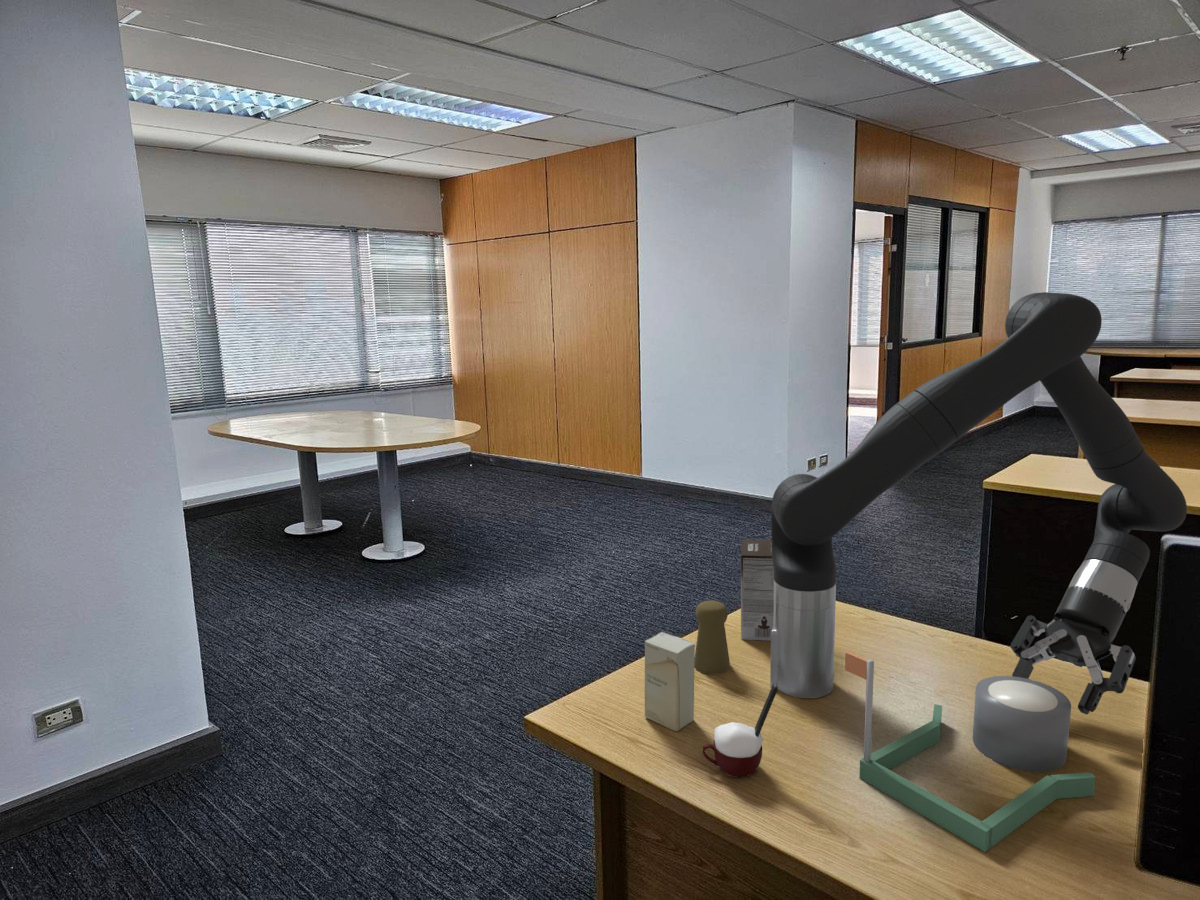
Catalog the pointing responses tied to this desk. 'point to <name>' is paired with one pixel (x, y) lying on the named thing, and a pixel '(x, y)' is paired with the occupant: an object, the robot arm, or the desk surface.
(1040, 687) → the grey cylinder
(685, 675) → the skincare box
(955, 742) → the desk surface
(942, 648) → the desk surface
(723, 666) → the cork
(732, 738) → the cocoa
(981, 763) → the desk surface
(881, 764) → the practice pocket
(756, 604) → the coffee box
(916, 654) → the desk surface
